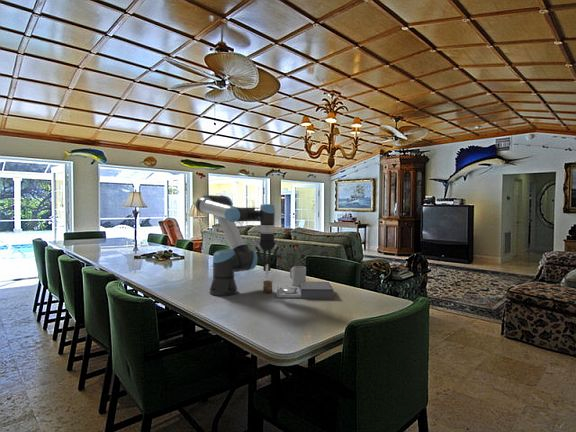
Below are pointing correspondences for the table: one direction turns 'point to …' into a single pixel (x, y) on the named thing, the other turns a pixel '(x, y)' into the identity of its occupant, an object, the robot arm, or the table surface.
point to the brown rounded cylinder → (267, 286)
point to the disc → (289, 290)
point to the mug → (298, 275)
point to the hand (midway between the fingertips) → (266, 276)
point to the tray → (295, 295)
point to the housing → (316, 290)
